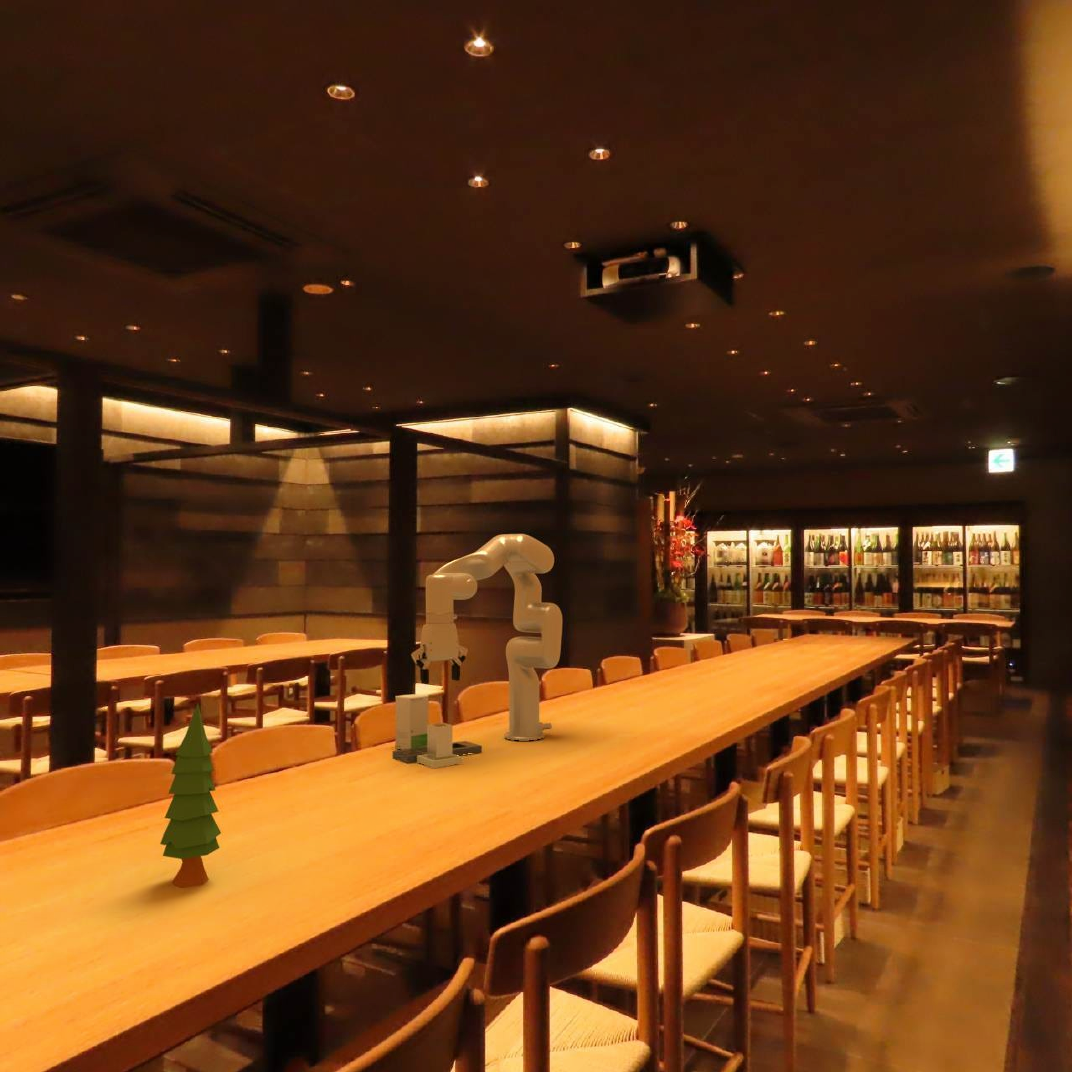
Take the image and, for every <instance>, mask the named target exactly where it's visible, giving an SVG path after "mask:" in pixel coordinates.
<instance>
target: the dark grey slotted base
mask: <svg viewBox="0 0 1072 1072" xmlns="http://www.w3.org/2000/svg"><path fill="white" fill-rule="evenodd" d="M480 752H482V753H483V745H480V744H477V743H473V742H470V741H467V740H463V741H457V742H456V741H454V742H452V754H454V755H463V754H468V753H476V754H481V753H480ZM425 754H427V746H424V747H417V748H410V749H402V750H398V749H395V750H392V759H394V758H396V759H395V760H397V759H398V760H397V761H399V760H400V761H399V762H402V761H403V762H402V763H406V764H415V763H417V756H418V755H425ZM463 756H464V755H463Z"/></svg>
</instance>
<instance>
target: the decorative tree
mask: <svg viewBox="0 0 1072 1072" xmlns="http://www.w3.org/2000/svg"><path fill="white" fill-rule="evenodd" d="M186 730H187V731H186V733H185V735H184V737H183V740H182V741H181V744H180V745H179V747H178V749H177V751H176V753H175V756H177V757H176V760H175V762H174V765H173V767H172V770H171V772H170V774H172V775H174V778H173V780H172V782H171V785H170V789H169V790H168V794H170V795H173V797H172V800H171V802H170V804H169V807H168V808H167V811H166V814H165V816H164V819H170V820H169V822H168V825H166V829H165V831H164V833H163V835H162V838H161V841H160V843H159V844H160V845H162V846H165V848H164V851H163V853H162V856H163V857H168V858H172V859H178V860H181V866H180V868H179V869H178V872H177V873H176V875H175V876H174V877H173V879H172V880H171V882H172V885H175V886H177V887H178V888H186V887H194V886H199V885H200V886H201V885H205V883H207V882H208V881H209V877H208V875H207V872H206V869H205V866H204V862H203V858H202V857H204V856H208V855H209V854H211V853H213V852H215V851H217V850H219V849H220V846H219V845H220V844H219V841H218V839H217V837H218V836H219V835H221V834H222V831H221V830H220V828H219V826H218V824H217V822H216V820H215V818H214V817H213V815H212V814H215V813H218V812H219V809H218V807H217V805H216V802H215V800H214V797H213V795H212V793H211V792H215V791H216V786H215V783H214V781H213V777H212V773H213V772H214V771H215V769H214V768H215V767H214V765H213V764H214V763H213V762H212V758H211V756H210V755H211V754H213V753H214V751H213V749H212V746H211V744H210V742H209V740H208V737H207V734H206V730H205V727H204V722H203V718H202V714H201V710H200V705H199V703H197V704H196V706H195V710H194V711H193V715H192V717H191V719H190V722H189V725H188V728H187V729H186Z"/></svg>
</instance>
